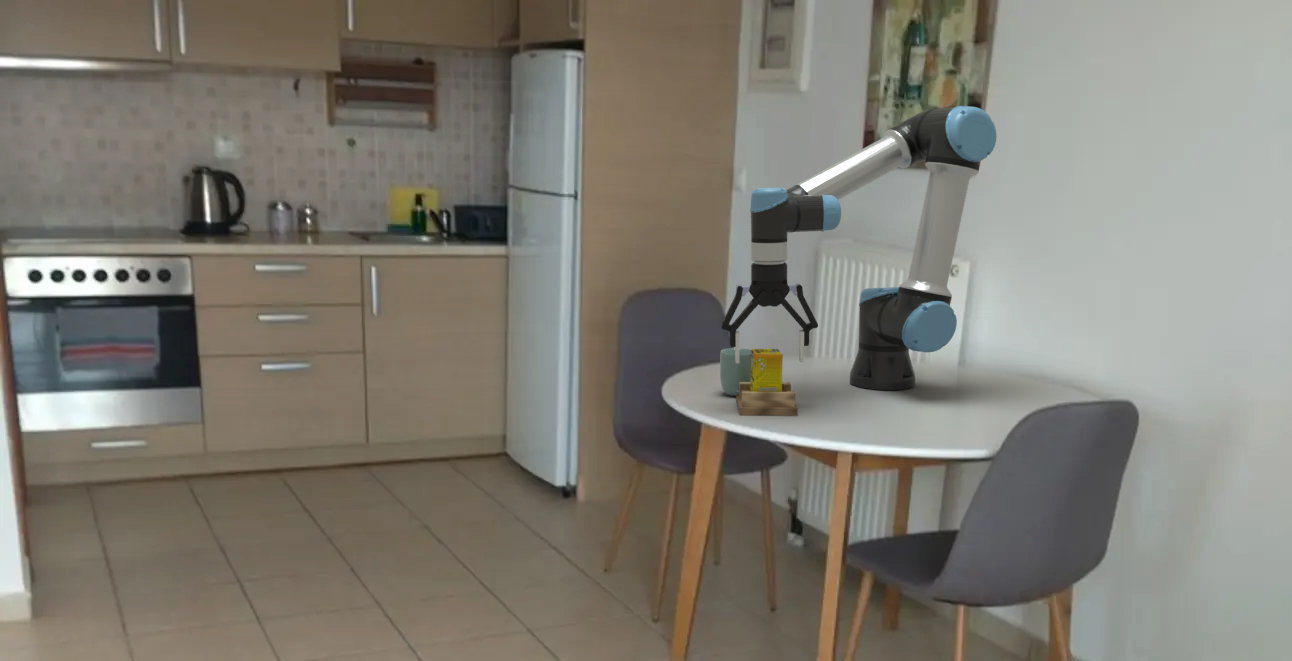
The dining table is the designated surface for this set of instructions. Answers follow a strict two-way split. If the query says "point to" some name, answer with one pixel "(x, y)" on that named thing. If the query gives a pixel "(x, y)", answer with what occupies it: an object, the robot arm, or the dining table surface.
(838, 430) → the dining table surface
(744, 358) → the cup
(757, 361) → the supplement box
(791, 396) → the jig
